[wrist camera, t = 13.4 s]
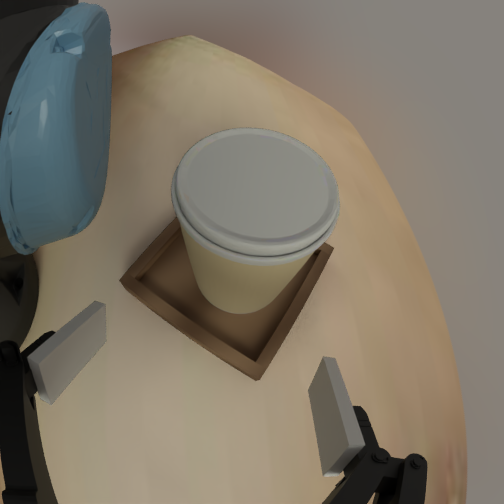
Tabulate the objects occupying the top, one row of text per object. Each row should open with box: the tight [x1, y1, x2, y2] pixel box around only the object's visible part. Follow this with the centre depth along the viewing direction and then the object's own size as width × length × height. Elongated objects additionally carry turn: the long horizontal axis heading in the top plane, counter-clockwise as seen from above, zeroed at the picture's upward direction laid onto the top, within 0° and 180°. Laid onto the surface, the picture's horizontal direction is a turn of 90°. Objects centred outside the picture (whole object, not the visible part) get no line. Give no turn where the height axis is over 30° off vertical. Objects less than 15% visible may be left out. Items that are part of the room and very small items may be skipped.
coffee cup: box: [171, 128, 340, 314], centre depth 19 cm, size 9×9×12 cm
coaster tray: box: [119, 217, 334, 381], centre depth 25 cm, size 14×14×2 cm
